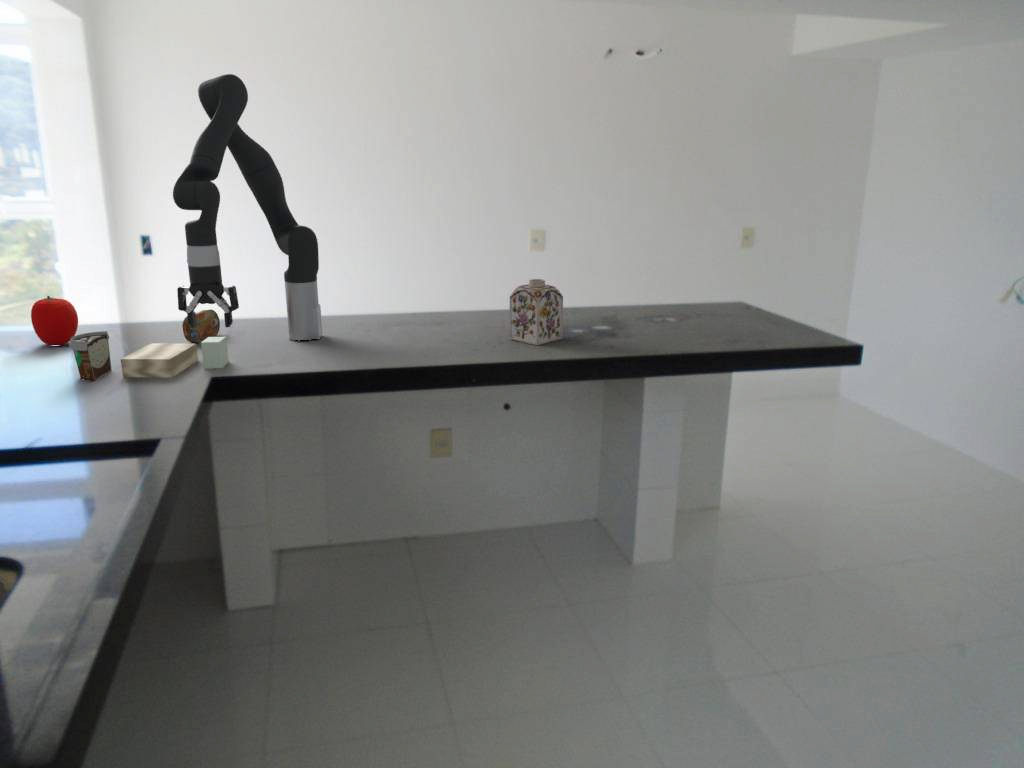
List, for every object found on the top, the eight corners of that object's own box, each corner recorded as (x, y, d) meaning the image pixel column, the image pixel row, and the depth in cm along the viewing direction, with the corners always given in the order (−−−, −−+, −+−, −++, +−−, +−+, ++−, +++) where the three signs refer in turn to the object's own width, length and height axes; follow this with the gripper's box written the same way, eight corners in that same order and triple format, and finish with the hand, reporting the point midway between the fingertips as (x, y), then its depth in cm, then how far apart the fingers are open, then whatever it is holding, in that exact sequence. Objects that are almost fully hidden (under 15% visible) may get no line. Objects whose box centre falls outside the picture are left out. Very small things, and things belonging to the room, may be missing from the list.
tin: (192, 345, 212) (188, 317, 210) (182, 345, 213) (178, 316, 210) (222, 334, 226) (219, 307, 224) (212, 333, 227) (209, 306, 224)
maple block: (198, 361, 197) (196, 343, 195) (172, 378, 181) (169, 359, 180) (153, 361, 196) (150, 343, 195) (123, 378, 181) (120, 359, 180)
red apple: (30, 344, 213) (21, 295, 209) (73, 337, 221) (65, 290, 217) (44, 351, 205) (35, 301, 200) (88, 344, 212) (80, 296, 208)
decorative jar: (563, 339, 221) (564, 279, 216) (537, 346, 213) (538, 284, 208) (533, 333, 229) (534, 275, 224) (507, 339, 221) (508, 279, 215)
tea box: (229, 362, 195) (226, 336, 193) (222, 368, 189) (219, 342, 187) (211, 362, 194) (208, 336, 192) (204, 369, 189) (200, 342, 187)
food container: (89, 369, 188) (82, 331, 185) (114, 369, 188) (108, 330, 185) (65, 383, 176) (57, 342, 173) (92, 382, 176) (85, 342, 173)
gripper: (237, 261, 188) (243, 323, 193) (180, 261, 187) (187, 324, 192) (228, 265, 181) (235, 330, 186) (169, 265, 180) (177, 330, 185)
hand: (211, 326), depth 189 cm, fingers open, 8 cm apart
